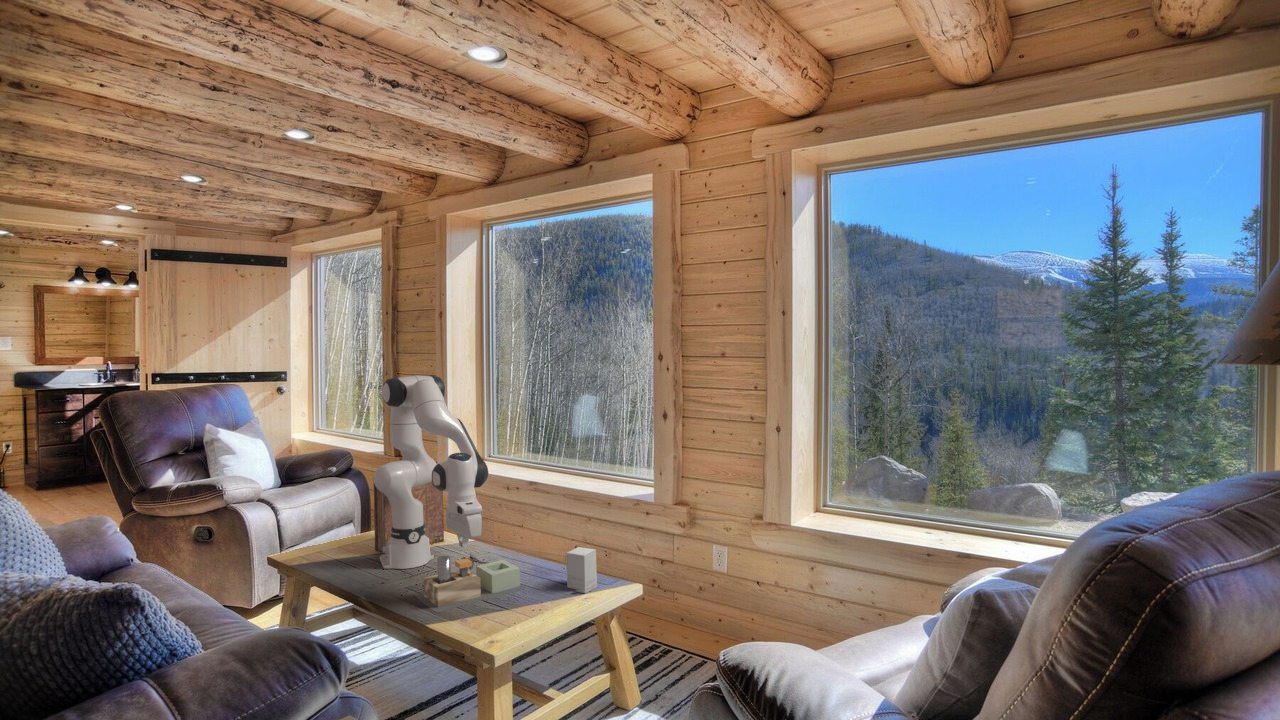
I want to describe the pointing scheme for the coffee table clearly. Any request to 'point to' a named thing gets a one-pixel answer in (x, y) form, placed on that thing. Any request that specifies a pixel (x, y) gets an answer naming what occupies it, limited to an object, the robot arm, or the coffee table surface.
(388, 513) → the book
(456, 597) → the socket block
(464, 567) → the key
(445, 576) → the grey cylindrical peg
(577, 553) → the supplement box
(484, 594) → the mat
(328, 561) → the coffee table surface
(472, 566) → the pliers
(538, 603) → the coffee table surface
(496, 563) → the frame
